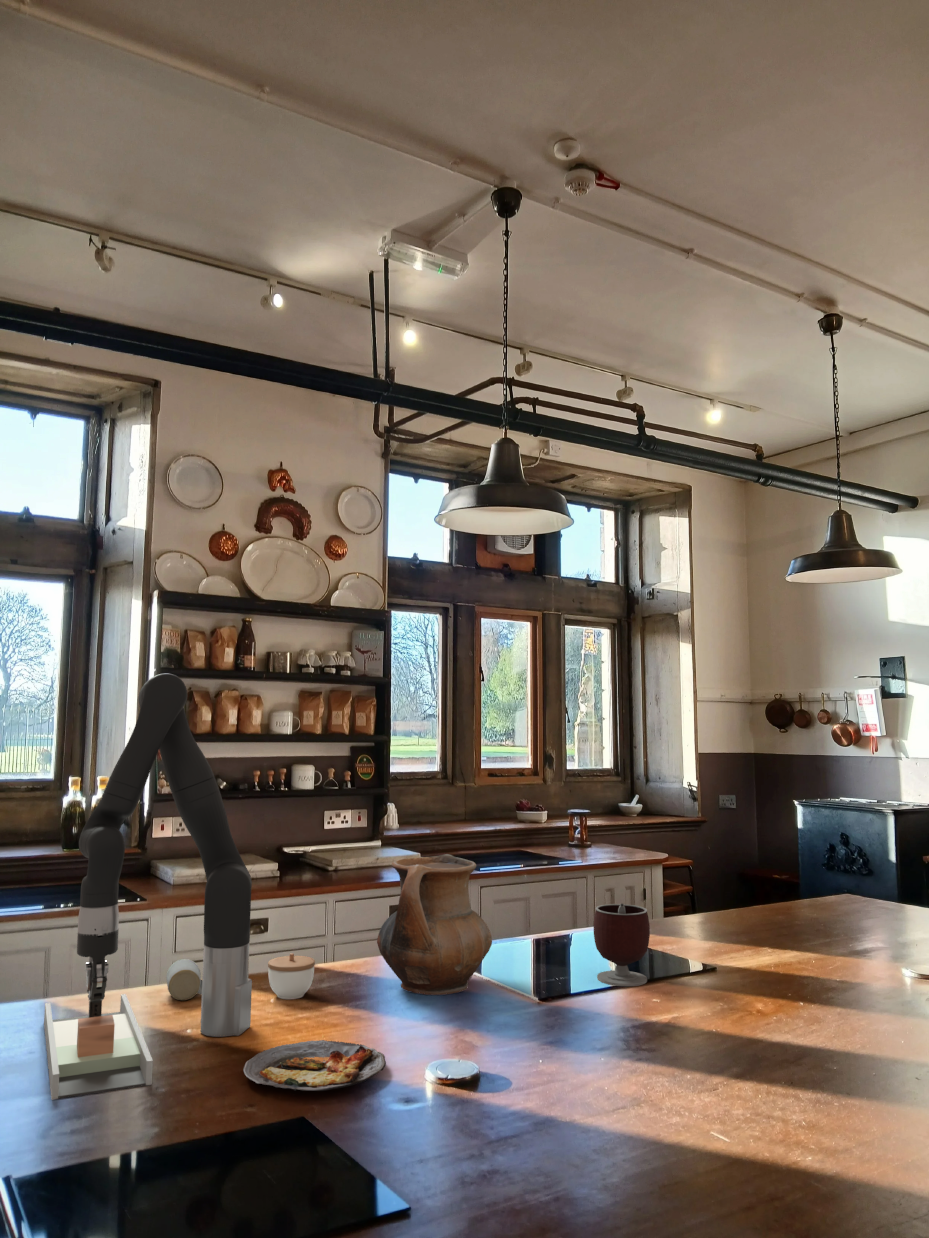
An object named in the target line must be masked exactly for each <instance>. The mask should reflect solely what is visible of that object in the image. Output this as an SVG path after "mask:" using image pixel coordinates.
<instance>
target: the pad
mask: <svg viewBox="0 0 929 1238" xmlns="http://www.w3.org/2000/svg"><path fill="white" fill-rule="evenodd" d="M56 1051H57V1059H58V1067H59V1077H65V1076H72V1075H79V1074H86V1073H93V1072H100V1071H107V1070H114V1069H121V1068H128V1067H135V1066H140V1052H139V1049H138V1047H137V1044H136V1041H135V1039H134V1037H130V1038H123V1039H115V1040H114V1047H113V1053H108V1054H100V1055H92V1056H85V1057H78V1054H77V1045H69V1046H61V1047H56Z"/></svg>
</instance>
